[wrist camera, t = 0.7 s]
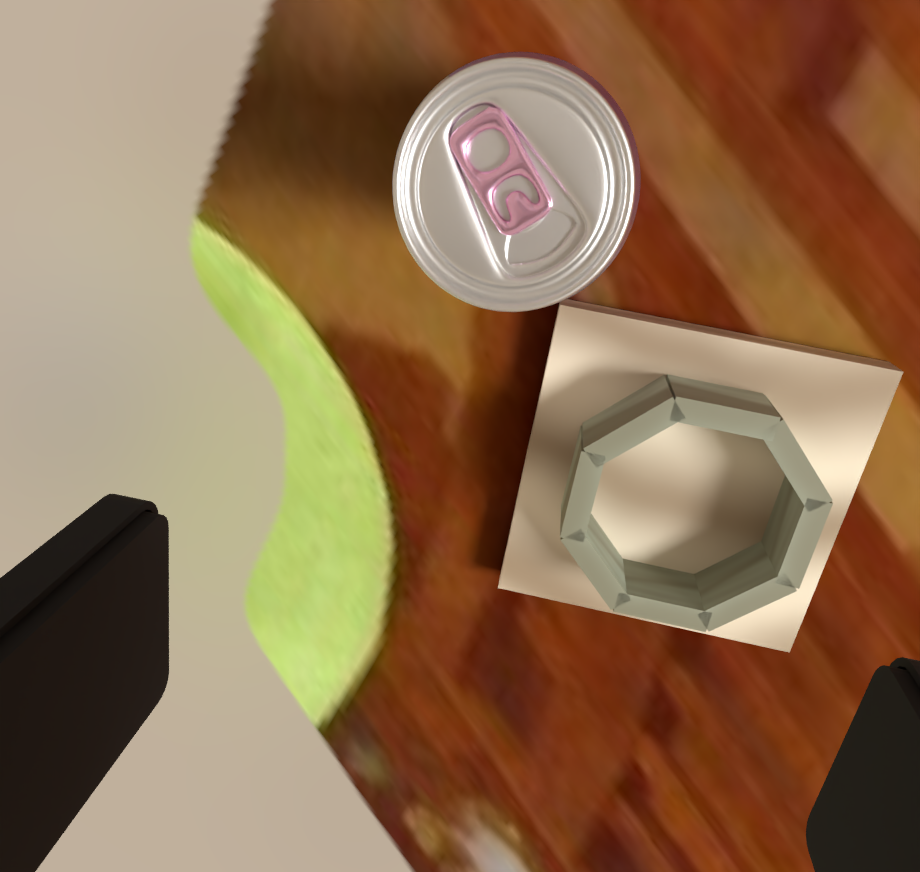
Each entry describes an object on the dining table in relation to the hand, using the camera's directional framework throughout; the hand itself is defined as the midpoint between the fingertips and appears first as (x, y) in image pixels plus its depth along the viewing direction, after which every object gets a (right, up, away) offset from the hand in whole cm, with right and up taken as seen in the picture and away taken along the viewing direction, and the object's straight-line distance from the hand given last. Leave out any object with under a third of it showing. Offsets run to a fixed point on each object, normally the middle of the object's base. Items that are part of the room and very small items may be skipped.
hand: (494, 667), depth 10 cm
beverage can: (+3, +14, +21) cm, 26 cm away
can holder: (+10, +1, +25) cm, 27 cm away
